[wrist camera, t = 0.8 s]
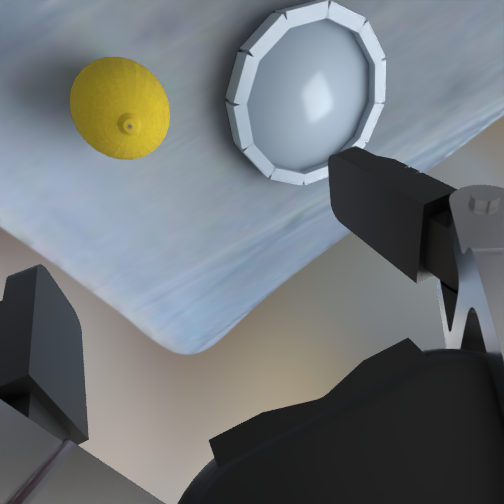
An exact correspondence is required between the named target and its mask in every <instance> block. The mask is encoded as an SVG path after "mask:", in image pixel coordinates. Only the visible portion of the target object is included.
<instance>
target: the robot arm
mask: <svg viewBox="0 0 504 504" xmlns="http://www.w3.org/2000/svg"><path fill="white" fill-rule="evenodd" d="M328 174H329V187H330V199H331V207H332V210H333V213H334V215H335V216H336V218H337V219H338V221H339V222H340V223H342V224H343V225H344V226H345V227H347V228H348V229H349V230H350V231H352V232H353V233H354V234H355V235H357V236H358V237H359V238H360V239H362V240H363V241H364V242H365V243H367V244H368V245H369V246H370V247H372V248H373V249H374V250H375V251H377V252H378V253H379V254H380V255H382V256H383V257H384V258H385V259H387V260H388V261H389V262H390V263H392V264H393V265H394V266H395V267H397V268H398V269H399V270H400V271H402V272H403V273H404V274H405V275H407V276H408V277H409V278H411V279H412V280H413V281H414V282H416V283H419V282H421V281H423V280H425V279H427V278H429V277H431V276H433V275H434V276H436V277H437V278H438V284H437V291H438V297H439V304H440V310H441V317H442V323H443V329H444V336H445V343H446V349H432V350H424V351H421V350H420V349H419V348H418V347H417V346H416V345H415V344H414V343H413V342H412V341H411V340H410V339H409V338H407V339H405V340H403V341H401V342H399V343H397V344H395V345H393V346H391V347H389V348H387V349H385V350H383V351H381V352H380V353H378V354H376V355H374V356H372V357H370V358H368V359H366V360H364V361H363V362H361V363H360V364H359V365H358V366H357V367H356V368H355V369H354V370H353V371H352V372H351V373H349V375H347V376H346V377H345V378H344V379H343V380H342V381H341V382H340V383H339V384H338V385H336V386H335V387H334V388H333V389H332V390H331V391H330V392H329V393H328V394H327V395H325V396H324V397H322V398H320V399H317V400H313V401H309V402H305V403H301V404H296V405H292V406H288V407H284V408H279V409H275V410H271V411H267V412H263V413H260V414H259V415H257V416H255V417H253V418H251V419H249V420H247V421H245V422H243V423H241V424H239V425H237V426H235V427H233V428H232V429H229V430H227V431H225V432H223V433H222V434H220V435H218V436H216V437H214V438H212V439H210V440H209V442H210V446H211V448H212V451H213V454H214V457H215V458H214V459H213V460H211V461H210V462H209V463H208V464H207V465H206V466H205V467H204V468H203V469H202V470H201V472H199V474H198V475H197V476H196V477H195V478H194V479H193V481H192V482H191V483H190V485H189V486H188V488H187V489H186V490H185V492H184V493H183V495H182V497H181V498H180V500H179V502H178V504H504V188H501V187H496V186H491V185H472V186H467V187H463V188H460V189H458V190H457V189H455V188H453V187H451V186H449V185H447V184H444V183H443V182H441V181H439V180H437V179H434V178H432V177H430V176H428V175H426V174H424V173H420V172H419V171H418V170H416V169H414V168H412V167H410V168H408V166H407V165H405V164H403V163H401V162H399V161H397V160H395V159H391V158H386V157H380V156H376V155H374V154H372V153H370V152H368V151H366V150H364V149H362V148H360V147H357V146H353V147H350V148H348V149H345V150H342V151H340V152H337V153H334V154H332V155H330V157H329V159H328ZM83 362H84V361H83V346H82V331H81V326H80V322H79V319H78V317H77V314H76V312H75V310H74V309H73V307H72V306H71V304H70V303H69V301H68V300H67V298H66V297H65V295H64V294H63V292H62V291H61V289H60V288H59V286H58V285H57V283H56V282H55V281H54V279H53V278H52V276H51V275H50V273H49V272H48V270H47V269H46V268H45V267H44V266H43V265H41V264H39V265H36V266H34V267H31V268H29V269H26V270H23V271H21V272H18V273H15V274H13V275H10V276H8V277H7V279H6V285H5V290H4V295H3V300H2V301H0V504H165V503H163V502H162V501H160V500H159V499H157V498H156V497H155V496H153V495H151V494H150V493H149V492H147V491H145V490H144V489H143V488H141V487H139V486H138V485H136V484H135V483H133V482H132V481H130V480H129V479H127V478H126V477H125V476H123V475H122V474H120V473H118V472H117V471H115V470H114V469H113V468H111V467H110V466H108V465H107V464H105V463H103V462H102V461H100V460H99V459H98V458H96V457H94V456H93V455H91V454H90V453H88V452H87V451H85V450H84V449H83V448H81V447H80V446H78V445H79V444H81V443H83V442H85V441H87V440H89V437H88V422H87V407H86V393H85V376H84V363H83Z"/></svg>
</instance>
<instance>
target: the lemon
mask: <svg viewBox="0 0 504 504" xmlns="http://www.w3.org/2000/svg"><path fill="white" fill-rule="evenodd" d="M69 104H70V110H71V116H72V119H73V121H74V123H75V126H76V128H77V130H78V131H79V133H80V134H81V135H82V137H83V138H84V139H85V141H86V142H87V143H88V144H90V145H91V146H92V147H93V148H94V149H96V150H97V151H99V152H101V153H103V154H105V155H107V156H109V157H113V158H117V159H125V160H132V159H136V158H141V157H143V156H145V155H147V154H149V153H151V152H153V151H154V150H155V149H156V148H157V147H158V146H159V145H160V144H161V142H162V141H163V139H164V138H165V136H166V133H167V130H168V127H169V120H170V109H169V103H168V99H167V96H166V94H165V91H164V89H163V87H162V85H161V84H160V83H159V81H158V80H157V78H156V77H155V76H154V75H153V74H152V73H151V72H150V71H149V70H147V69H146V68H145V67H144V66H142V65H140V64H138V63H136V62H135V61H133V60H130V59H125V58H121V57H105V58H102V59H99V60H95V61H93V62H92V63H90V64H89V65H87V66H86V67H84V68H83V69H82V71H81V72H80V73H79V74H78V75H77V77H76V78H75V81H74V83H73V86H72V88H71V93H70V103H69Z"/></svg>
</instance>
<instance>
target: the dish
mask: <svg viewBox="0 0 504 504" xmlns="http://www.w3.org/2000/svg"><path fill="white" fill-rule="evenodd" d="M365 19H366V18H364V17H362V16H360V15H358V14H356V13H354V12H352V11H350V10H348V9H346V8H344V7H342V6H340V5H338V4H336V3H335V2H333V1H311V2H308V3H304V4H300V5H296V6H292V7H288V8H284V9H280V10H277V11H275V13H271V14H270V15H269V16H268V17H267V19H266V20H265V21H264V22H263V23H262V24H261V25H260V26H259V27H258V28H257V30H256V31H255V32H254V33H253V34H252V35H251V36H250V37H249V38H248V39H247V41H246V42H245V43H244V44H243V45H242V46H241V47H240V49H241V52H238V53H237V56H236V60H235V64H234V67H233V71H232V75H231V79H230V82H229V86H228V90H227V94H226V97H225V98H226V99H228V101H226V102H225V103H226V108H227V112H228V117H229V122H230V126H231V131H232V136H233V140H234V143H235V144H236V147H237V148H238V149H239V150H240V151H241V152H242V153H243V154H244V155H245V156H246V157H247V158H248V159H249V160H250V161H251V162H252V163H253V165H254V166H255V167H256V168H257V169H258V170H259V171H260V172H261V173H263V174H264V175H265V176H266V177H267V178H269V179H271V180H276V181H281V182H286V183H291V184H296V185H302V184H304V185H307V184H310V183H312V182H315V181H318V180H320V179H323V178H326V177H329V174H328V159H329V157H330V155H332V154H334V153H337V152H340V151H342V150H345V149H348V148H350V147H353V146H357V147H360V148H363V147H364V146H365V145H366V144H365V143H364V141H365V142H368V141H369V138H370V136H371V134H372V131H373V129H374V127H375V124H376V122H377V120H378V118H379V115H380V113H381V111H382V108H383V106H384V105H383V104H381V102H384V101H385V78H386V60H384V59H383V58H384V57H385V55H384V53H383V50H382V48H381V46H380V44H379V42H378V40H377V38H376V36H375V34H374V32H373V30H372V28H371V26H370V24H369V22H368V21H366V20H365Z"/></svg>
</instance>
